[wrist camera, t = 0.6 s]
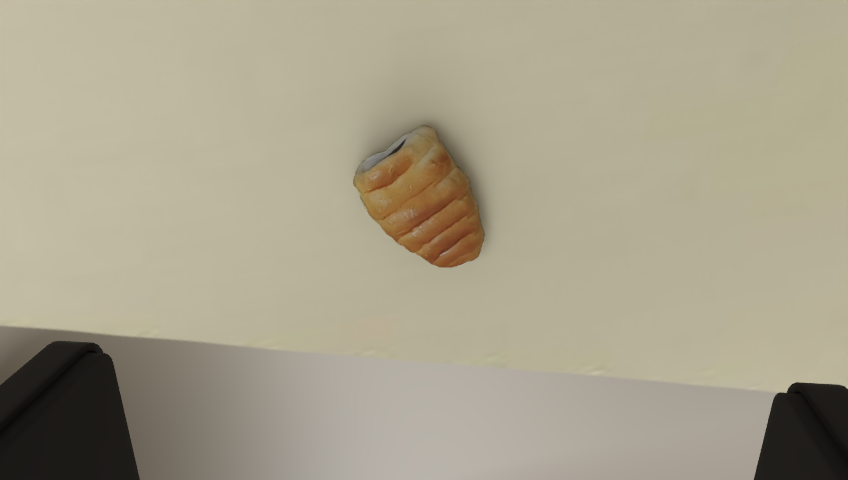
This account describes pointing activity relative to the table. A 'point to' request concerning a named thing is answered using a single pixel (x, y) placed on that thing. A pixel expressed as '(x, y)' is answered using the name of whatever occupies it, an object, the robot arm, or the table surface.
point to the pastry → (422, 199)
